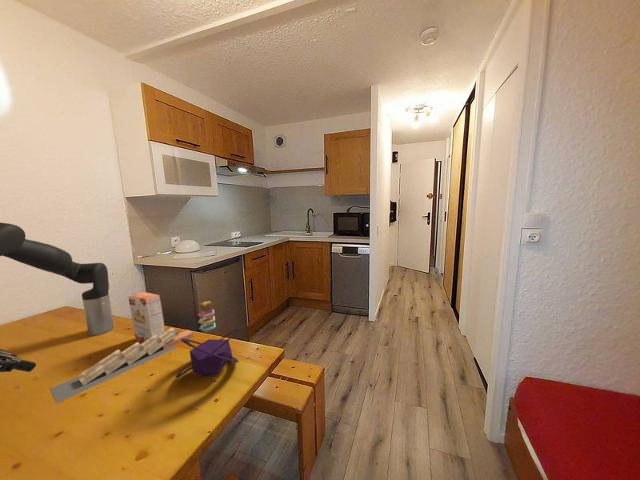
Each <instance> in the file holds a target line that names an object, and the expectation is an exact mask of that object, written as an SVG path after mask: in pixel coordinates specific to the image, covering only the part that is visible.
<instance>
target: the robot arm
mask: <svg viewBox="0 0 640 480" xmlns="http://www.w3.org/2000/svg"><path fill="white" fill-rule="evenodd" d="M26 237H27V236H26V232H25V230H24V229H23V228H22V227H20V226H19V225H16V224H13V223H5V222H0V257H6V258H8V259H11V260H14V261H16V262H19V263H21V264H24V265H27V266H29V267H32V268H36V269H39V270H41V271H44V272H48V273H51V274H55V275H58V276H61V277H63V278H67V279H69V280H71V281H73V282H75V283H78V284H86V285H87V284H92V288H90V289H88V290H85V291H84V292H82V293H81V298H82V299H81V300H82V304H83V305H82V306H83V311H84V316H85V320H86V321H85V322H86V327H87V334H88V336H98V335H99V336H100V335H102V334H105V333H108V332H110V331H112V330H113V329H114V328H115V326H114V319H113V312H112V305H111V301H110V295H109V289H110V283H109V271H108V267H107V266H106V264H105V263H103V262H91V263H79V262H75V261H73V258H72V256H71V254H70V253H69V252H67V251H66V250H64V249H62V248H60V247H57V246H55V245H53V244H48V243H44V242H40V241H36V240H31V239H26ZM36 367H37V363H36V362H34V361H31V360H30V361H29V360H27V359H26V360H25V359H21V358H20V357H18V355H17V354H14V353H12V352H9V351H6V350H4V349H3V348H0V373H10V372H12V371H13V370H17V371H23V372H28V373H30V372H32V371H33V370H34V369H35V368H36Z"/></svg>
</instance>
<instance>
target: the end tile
mask: <svg viewBox="0 0 640 480" xmlns="http://www.w3.org/2000/svg"><path fill="white" fill-rule="evenodd" d="M193 337H194V332H193V331H192V330H189V329H186V330H183V331H181V332H179V334H178V335H177V336H176V337H174V338H173V339H172V340H170V341H169V342H168V343H166V344H165V345H164V346H162V347H161V348H162V349H163V350H164V349H167V348H169V347H171V346H173V345H174V346H176V345H177V344H180V343H183V342H182V341H181V339H189V340H190V339H191V338H193Z"/></svg>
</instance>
